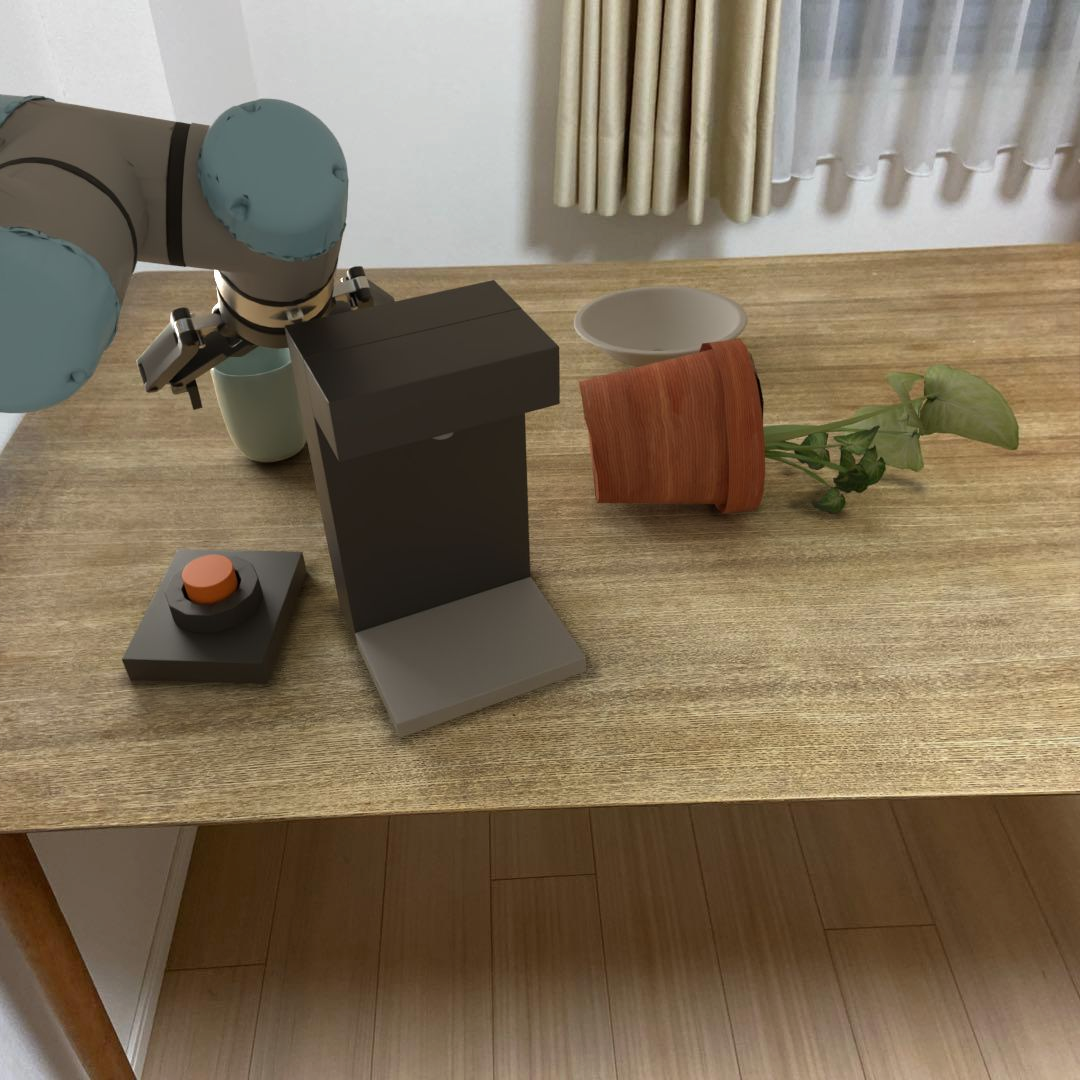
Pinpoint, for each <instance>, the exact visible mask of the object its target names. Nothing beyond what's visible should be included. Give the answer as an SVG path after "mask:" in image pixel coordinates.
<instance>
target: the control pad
mask: <svg viewBox="0 0 1080 1080" xmlns="http://www.w3.org/2000/svg"><path fill="white" fill-rule="evenodd" d="M207 555H221V556H224V557H227V558H228V559H229V560H230V561H231V562H232V564H233V567H234V571H235V574H236V578H237V581H238V587H237V589H236V591H235V592H234V593H233V594H232V595H231V596H229V597H228V598H227V599H225V600H222V601H219V602H215V603H212V604H197V603H194V602H193V601H191V600H190V598H189V597H188V594H187V591H186V588H185V585H184V582H183V579H182V573H183V570H184V568H185V567H186V566H187V565H188V564H189V563H190V562H192V561H193V560H195V559H197V558H199V557H202V556H207ZM307 572H308V571H307V567H306V562H305V557H304V553H303V551H289V550H288V551H287V550H284V551H283V550H243V549H241V550H240V549H239V550H238V549H201V548H199V549H193V548H192V549H191V548H177V550H176V551H175V553H174V555H173V558H172V559H171V561H170V563H169V565H168V567H167V569H166V571H165V573H164V575H163V577H162V579H161V581H160V583H159V585H158V587H157V589H156V591H155V593H154V595H153V597H152V599H151V601H150V603H149V605H148V607H147V609H146V610H145V612H144V615H143V617H142V619H141V620H140V622H139V625H138V627H137V628H136V630H135V633H134V634H133V636H132V638H131V639H130V642H129V644H128V646H127V648H126V650H125V652H124V654H123V656H122V658H121V661H122V664H123V666H124V669H125V671H126V673H127V676H128V679H129V680H130V681H139V682H140V681H143V682H144V681H145V682H177V683H179V682H180V683H181V682H182V683H209V684H210V683H212V684H214V683H215V684H245V685H246V684H247V685H248V684H249V685H268V684H269V682H270V679H271V677H272V674H273V670H274V668H275V664H276V662H277V659H278V656H279V654H280V650H281V648H282V644H283V642H284V639H285V636H286V634H287V631H288V628H289V625H290V622H291V619H292V616H293V613H294V611H295V607H296V604H297V602H298V599H299V596H300V593H301V591H302V588H303V585H304V581H305V579H306V576H307Z"/></svg>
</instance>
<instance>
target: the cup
mask: <svg viewBox="0 0 1080 1080" xmlns="http://www.w3.org/2000/svg"><path fill="white" fill-rule="evenodd" d="M240 341H242V340H240ZM209 372H210V376H211V380H212V384H213V388H214V393H215V395H216V398H217V399H216V400H217V402H218V403H217V404H218V406H219V410H220V413H221V416H222V419H223V422H224V425H225V427H226V431H227V432H228V435H229V438H230V440H231V442H232V443H233V445H235V447H236V449H237V450H238V451H239V453H240V454H242V455H243V456H244V457H246V458H247V459H249V460H252V461H253V462H258V463H275V462H281V461H284V460H287V459H289V458H292V457H294V456H295V455H297V454H298V453H299V452H301V450H302V449H303V448H304V447H305V446H306V444H307V438H306V433H305V428H304V423H303V418H302V413H301V408H300V403H299V398H298V393H297V388H296V383H295V377H294V372H293V367H292V362H291V357H290V352H289V348H282V349H274V348H267V347H262V346H258V347H257V348H255V349H254V350H252V351H250V352H249V353H247V354H246V355H244V356H243V357H229V358H227V359H226V360H224V361H223V362H221V363H220V364H218V365H217V366H215V367H213V368H212V369H210V370H209Z"/></svg>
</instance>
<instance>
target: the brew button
mask: <svg viewBox="0 0 1080 1080" xmlns="http://www.w3.org/2000/svg"><path fill="white" fill-rule="evenodd" d="M182 579H183V582H184V585H185V588H186V591H187V594H188V597H189V598H190V600H191V601H193V602H194V603H197V604H212V603H215V602H219V601H222V600H225V599H227V598H228V597H229V596H231V595H232V594H233V593H234V592H235V591H236V589H237V587H238V581H237V578H236V574H235V571H234V567H233V564H232V562H231V561H230V560H229V559H228V558H227V557H224V556H221V555H207V556H202V557H199V558H197V559H195V560H193V561H192V562H190V563H189V564H188V565H187V566H186V567H185V568H184V570H183V573H182Z"/></svg>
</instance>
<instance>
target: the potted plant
mask: <svg viewBox="0 0 1080 1080" xmlns="http://www.w3.org/2000/svg"><path fill="white" fill-rule="evenodd" d="M755 365H756V364H755V362H754V359H753V355H752V353H751V352H749V350H748V347H747V346H746V344H745V343H744V342H743V339H741V338H735V339H733V340H725V341H718V342H710V343H702V345H701V348H700V351H699V353H694V354H690V355H686V356H682V357H678V358H674V359H670V360H665V361H661V362H657V363H653V364H649V365H645V366H641V367H638V366H635V367H633V368H629V369H625V370H621V371H616V372H612V373H607V374H604V375H600V376H599V375H598V376H595V377H591V378H587V379H583V380H579V381H578V386H579V391H580V396H581V402H582V403H581V404H582V410H583V418H584V422H585V425H586V428H587V433H588V434H587V435H588V441H589V442H588V444H589V451H590V452H589V453H590V459H591V460H590V461H591V468H592V474H593V486H594V496H595V502H596V504H655V505H656V504H662V505H664V504H667V505H670V504H672V505H673V504H675V505H676V504H677V505H679V504H680V505H715V508H716V510H717V511H718V512H719V513H720V514H723V515H724V514H731V513H740V512H750V511H756V510H757V509H758V508H759V507H760V506H761V503H762V499H763V497H764V496H763V495H764V490H765V477H766V459H770V460H773V461H777V462H781V463H784V464H785V465H789V466H791V467H793V468H795V469H798V470H801V471H803V472H805V474H807V475H808V476H809V477H811V478H813V479H814V480H816V481H817V482H820V483H821V484H823V485H825V486H828V487H830V489H829V490H828V491H827V492H826V493H825V495H824V496H822V498H820V500H812V504H813V507H814V508H815V509H817V510H819V511H820V512H828V513H830V514H835V513H839V512H841V511H843V509H844V507H845V505H846V504H847V501H846V497H845V495H844V494H843V493H846V494H850V493H852V492H855V493H858V494H862V493H863V492H865V491H866V490H867V489H868V487H870V486H873V485H876V484H878V483H879V481H880V480H881V479H882V478H883V476H884V474H885V472H886V469H887V467H886V466H891V467H892V468H896V469H898V470H899V469H900V470H911V471H913V472H916V473H918V472H920V471H922V470H923V469H925V463H924V459H923V453H922V448H921V442H920V441H921V440H920V437H923V436H929V435H930V436H931V435H933V434H949V435H956V436H959V437H961V438H964V439H968V440H972V441H977V442H981V443H984V444H988V445H990V446H991V445H992V446H995V447H998V448H1002V449H1005V450H1009V451H1015V450H1018V448H1019V445H1020V441H1019V440H1020V438H1019V437H1020V436H1019V435H1020V434H1019V433H1020V432H1019V427H1020V426H1019V423H1018V420H1017V417H1016V415H1015V413H1014V411H1013V410H1012V407H1011V406H1010V405H1009V403H1008V401H1007V400H1006V398H1005V397H1004V396H1003V394H1002V393H1001V391H1000V390H998V389H997V388H995V386H993V385H992V384H990V383H988V381H987V380H986V379H984V378H983V377H980V376H977V375H974V374H972V373H970V372H968V371H967V370H964V369H957V368H953V367H951V366H950V365H947V364H936V365H932V366H929V367H928V368H927V369H926V371H925V373H924V374H925V375H922V374H919V373H913V372H904V371H897V370H896V371H892V372H888V373H886V381H887V382H888V384H889V385H890V387H891V388H892V389H893V390H894V392H895V394H896V395H897V396H898V399H899V400H900V402H901V403H898V404H891V405H890V404H889V405H882V404H881V405H879V404H869V405H866V406H863V407H861V408H859V409H857V410H856V411H855V413H854V414H853V415H852V416H851V417H850V418H846V419H842V420H837V421H833V422H829V423H825V424H824V423H823V424H819V425H816V424H815V425H813V424H775V425H774V424H773V425H766V426H764V407H765V405H764V397H763V390H762V386H761V380H760V378H759V375H758V372H757V369H756V366H755ZM922 379H924V380H923V384H924V386H923V396H919V397H916V398H913V399H911V396H910V392H911V390H912V388H913V386H914V385H915V384H916V382H918V381H919V380H922ZM925 400H926V401H925ZM923 402H924V403H923ZM837 432H838V433H839V432H841V433H842V432H843V435H834V436H833V435H832V437H833V440H834V441H836V443H837V442H838V443H840V444H828V439H829V433H837ZM802 437H803V438H804V437H805V438H804V439H803V441H802V442H801V443H800V444H799V443H796V442H792V441H791V440H794V439H798V438H802ZM790 441H791V442H790ZM827 444H828V445H827ZM837 447H838V448H839V450H840V457H839V464H838V463H835V462H832V461H831V455H830V454H831V453H830V452H829V450H828V449H829V448H837ZM792 451H793V452H794V453H792ZM853 454H854V455H856V456H858V457H859V456H861V455H862V457H861V458H860V460H859V461H858V462H856V458H855V457H854V455H853ZM787 458H789V459H795V460H797V461H799V463H800V464H803V465H804V464H806V465H807V467H808V468H809V469H810V470H809V469H807V468H806V467H804V466H801V465H799V464H797V463H795V462H793V461H790V460H789V459H787ZM825 467H826V468H827V469H830V470H834V471H836V472H838V474H837V476H836V477H832V480H833V484H834V486H831V484H829V483H828V482H827V481H826V480H825V479H824V478H822V477H821V476H819V475H818V474H817V473H815V472H813V471H811V470H815V471H819V470H821V469H823V468H825ZM840 492H843V493H841V494H840Z"/></svg>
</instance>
